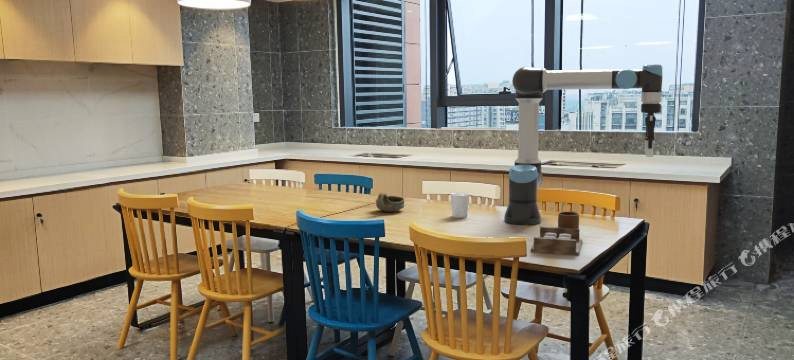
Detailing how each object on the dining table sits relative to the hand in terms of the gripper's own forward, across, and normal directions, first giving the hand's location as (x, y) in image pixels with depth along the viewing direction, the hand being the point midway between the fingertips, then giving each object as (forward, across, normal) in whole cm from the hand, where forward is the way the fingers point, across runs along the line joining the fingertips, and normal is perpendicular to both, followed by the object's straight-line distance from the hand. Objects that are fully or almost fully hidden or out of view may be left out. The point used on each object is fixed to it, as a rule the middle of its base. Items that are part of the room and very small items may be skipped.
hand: (648, 155), depth 261 cm
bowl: (+28, -9, +111) cm, 115 cm away
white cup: (+28, -10, +77) cm, 83 cm away
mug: (+28, -36, +28) cm, 54 cm away
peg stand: (+28, -53, +31) cm, 68 cm away
